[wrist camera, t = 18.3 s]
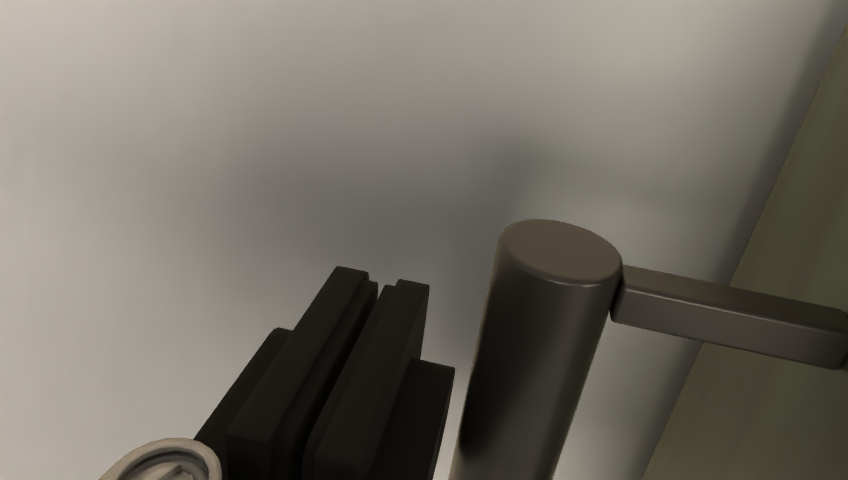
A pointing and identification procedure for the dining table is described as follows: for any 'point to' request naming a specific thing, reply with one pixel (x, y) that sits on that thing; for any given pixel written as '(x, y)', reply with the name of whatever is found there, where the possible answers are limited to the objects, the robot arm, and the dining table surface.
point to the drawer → (682, 333)
